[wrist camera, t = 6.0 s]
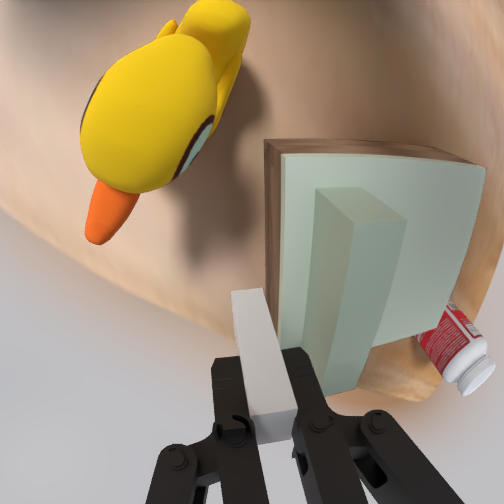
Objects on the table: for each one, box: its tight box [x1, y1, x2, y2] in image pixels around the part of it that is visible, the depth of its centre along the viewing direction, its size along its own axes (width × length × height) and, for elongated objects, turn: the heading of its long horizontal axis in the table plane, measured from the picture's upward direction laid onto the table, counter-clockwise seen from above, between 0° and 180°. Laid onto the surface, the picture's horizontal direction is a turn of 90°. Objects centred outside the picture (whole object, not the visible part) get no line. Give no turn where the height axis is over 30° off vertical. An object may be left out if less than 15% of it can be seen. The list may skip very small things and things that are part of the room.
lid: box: [277, 153, 486, 397], centre depth 15 cm, size 14×14×5 cm
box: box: [264, 139, 476, 337], centre depth 19 cm, size 14×14×5 cm
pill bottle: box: [414, 299, 496, 396], centre depth 24 cm, size 6×6×11 cm
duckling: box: [80, 0, 250, 245], centre depth 11 cm, size 11×5×10 cm, turn 149°
